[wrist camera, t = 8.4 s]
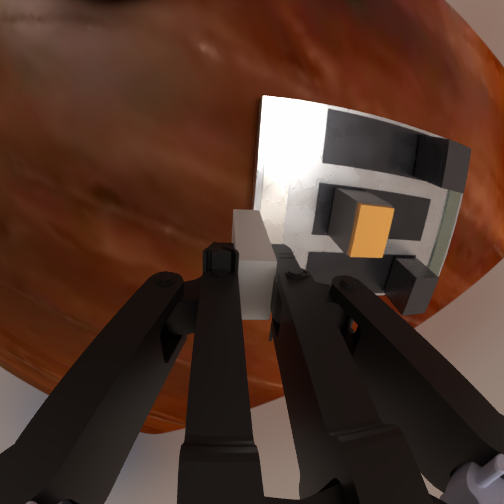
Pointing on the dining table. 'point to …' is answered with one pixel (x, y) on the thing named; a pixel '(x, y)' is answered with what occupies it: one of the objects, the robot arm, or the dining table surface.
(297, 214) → the panel
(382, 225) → the block
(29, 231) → the dining table surface
